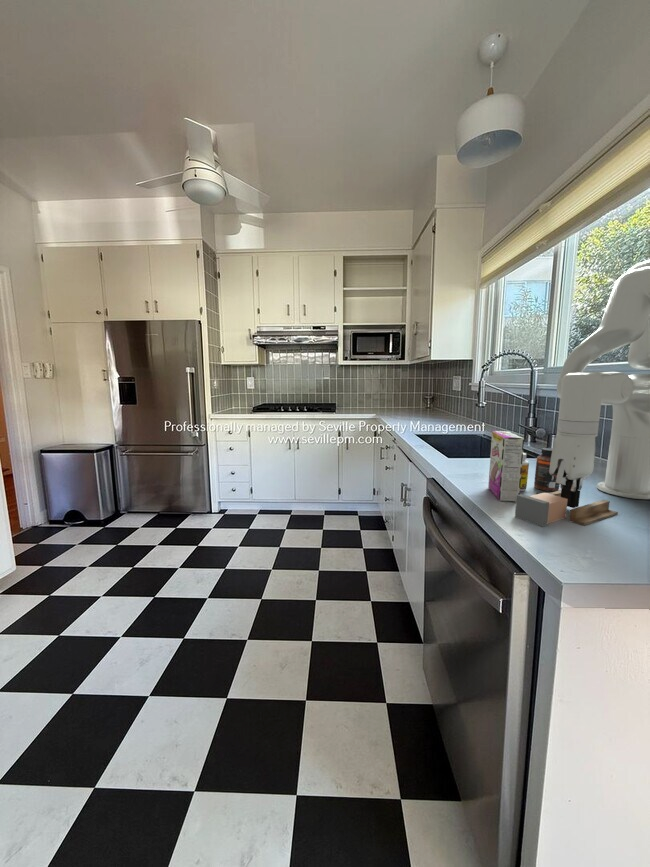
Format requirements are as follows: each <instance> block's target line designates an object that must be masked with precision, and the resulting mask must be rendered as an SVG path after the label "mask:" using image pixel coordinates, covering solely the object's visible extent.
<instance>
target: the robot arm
mask: <svg viewBox="0 0 650 867" xmlns="http://www.w3.org/2000/svg"><path fill="white" fill-rule="evenodd" d="M601 318H602V319H601V321H600V324H599V326H598V328H597V330H596V331H595V332H593V333H592V334H590V335H589V336H588V337H587V338H585V339H584V340H583V341H581V343H579V344H578V345H577V346H576V347H575V348H574V349H573V350H572V351H571V352H570V354H569V355H568V356H567V358H566V359H565V362H564V363H563V366H562V368H561V371H560V374H559V377H558V380H557V383H556V394H557V397H558V398H559V407H558V408H559V409H558V419H557V428H556V435H555V438H554V441H553V445H552V455H551V461H550V469H549V473H550V475H552V476H556V475H557V479H556V483H558V484H560V485H559V488H560V490H561V497H562V498H566V499H568V501H567V507H569V508H570V509H574V508H577V507H580V506H579V504H580V496H581V490H582V488H583V482H584V480H586V479H587V478H588V476H590V475H591V474H592V473H593V471H594V468H595V457H596V437H598V436H599V435H598V434H599V427H600V425H599V424H600V418H601V410H602V409H601V408H602V406H612V421H611V422H612V423H611V431H610V440H609V446H608V447H609V448H608V454H607V456H608V457H607V463H606V471H605V479H604V481H600V482H597V486H596V488H597V489H598V490H599V491H601V492H604V493H606V494H610V495H613V496H618V497H621V498H622V497H623V498H628V499H635V500H636V499H637V500H650V373H643V374H642V373H639V374H637V373H636V374H630V375H628V374H626V373H624V372H621V371H585V370H586V368H587V367H588V366H589V365H590V364H591V363H592V362H594V361H595V360H596V359H598V358H600V357H602V356H604V355H605V354H609V353H611V352H613V351H616V350H619V349H620V348H623V347H625V346H627V345H628V346H629V348H628V354H627V363H628V365H629V366H630V367H631V368H632V369H635V370H643V371H644V370H645V371H650V259H648V260H645V261H642V262H638V263H637V264H635V265H633V266H632V267H630V268H629V269H628V270H627V272H626V273H624V274H622V275H621V276H620V277H618V279H616V282H615V283H614V285H613V289H612V291H611V293H610V295H609V299H608V302H607V305H606V307H605V309H604V313H603V316H602V317H601ZM629 344H630V345H629Z"/></svg>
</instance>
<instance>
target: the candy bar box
mask: <svg viewBox="0 0 650 867" xmlns="http://www.w3.org/2000/svg"><path fill="white" fill-rule="evenodd" d="M524 443H525V438H524V437H522V436H520V435H517V434H516V433H514V432H511V431H507V430H506V431H505V430H493V431H491V441H490V455H489V456H490V457H489V459H490V460H489V473H488V487H487V488H488V489H489V490H490V491H491V493H492V494H493V495H494V496H495V497H496V499H497V500H498V501H499V502H507V503H509V502H510V503H516V499H517V495H520V494H521V491H520V484H521V471H522V460H523V453H524Z"/></svg>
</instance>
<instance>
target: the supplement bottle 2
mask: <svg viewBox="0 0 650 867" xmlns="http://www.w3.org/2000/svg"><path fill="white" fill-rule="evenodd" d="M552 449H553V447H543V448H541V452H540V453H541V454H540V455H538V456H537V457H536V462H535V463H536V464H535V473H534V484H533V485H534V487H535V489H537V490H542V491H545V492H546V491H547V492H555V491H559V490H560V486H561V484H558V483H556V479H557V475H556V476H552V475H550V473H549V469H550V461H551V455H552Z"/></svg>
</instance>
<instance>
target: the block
mask: <svg viewBox="0 0 650 867" xmlns="http://www.w3.org/2000/svg"><path fill="white" fill-rule="evenodd" d="M548 493H549V492H542V493H538V494H537V493H536V494H533V495H529V496H530V497H533V498H536V499H540V500H543V501H546V502H549V510H548V519H547V524H550V523H553V522H556V521H561V520H563V519H566V517H567V509H568V508H567V507H568V506H567V501H568V499H566V498H562V497H559V496H555V495H552V494H548Z"/></svg>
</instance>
